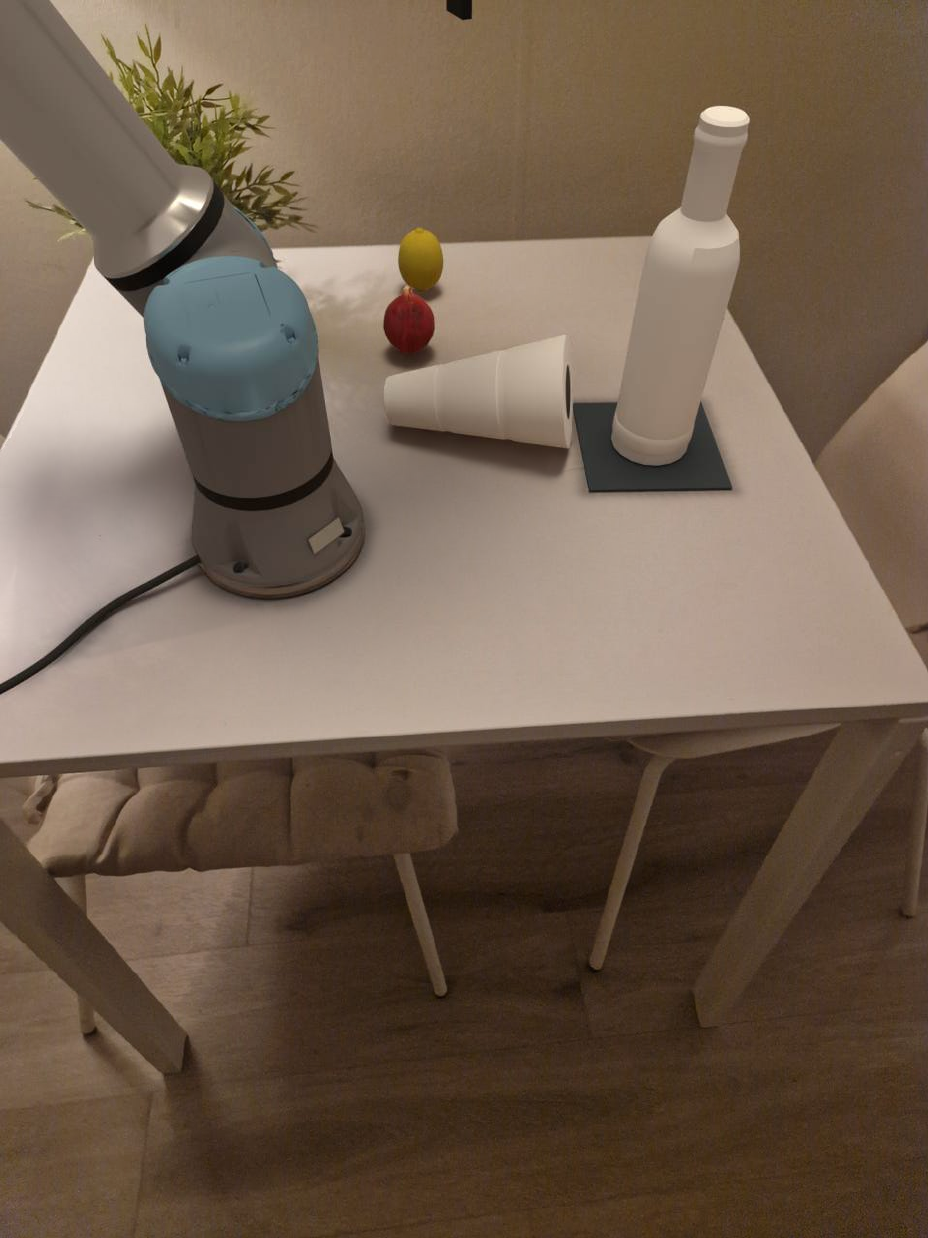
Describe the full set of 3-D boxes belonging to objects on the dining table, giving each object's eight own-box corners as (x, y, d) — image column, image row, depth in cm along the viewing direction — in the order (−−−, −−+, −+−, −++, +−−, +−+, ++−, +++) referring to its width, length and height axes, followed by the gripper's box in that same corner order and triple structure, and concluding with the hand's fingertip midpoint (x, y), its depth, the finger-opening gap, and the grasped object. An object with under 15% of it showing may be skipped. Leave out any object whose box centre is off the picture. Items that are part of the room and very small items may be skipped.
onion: (442, 361, 91) (441, 295, 85) (395, 372, 90) (390, 305, 83) (425, 335, 94) (423, 270, 88) (379, 345, 93) (373, 279, 87)
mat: (589, 492, 77) (589, 489, 77) (572, 404, 86) (572, 402, 86) (731, 489, 77) (732, 487, 77) (700, 403, 86) (701, 400, 86)
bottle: (685, 421, 84) (773, 96, 60) (691, 470, 79) (789, 137, 55) (608, 416, 84) (667, 92, 61) (610, 464, 79) (674, 131, 56)
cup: (388, 323, 80) (568, 311, 76) (411, 408, 88) (574, 401, 84) (366, 390, 74) (560, 380, 70) (393, 475, 82) (568, 471, 78)
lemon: (395, 284, 102) (391, 220, 96) (436, 278, 103) (435, 214, 97) (406, 306, 98) (402, 241, 92) (449, 299, 100) (448, 235, 93)
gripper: (388, -491, 38) (409, 39, 55) (790, -466, 45) (701, -4, 62) (332, -478, 42) (367, 10, 59) (708, -457, 49) (646, -27, 66)
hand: (539, 3), depth 60 cm, fingers open, 13 cm apart
